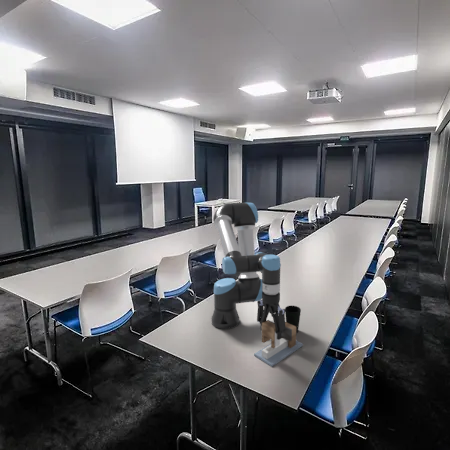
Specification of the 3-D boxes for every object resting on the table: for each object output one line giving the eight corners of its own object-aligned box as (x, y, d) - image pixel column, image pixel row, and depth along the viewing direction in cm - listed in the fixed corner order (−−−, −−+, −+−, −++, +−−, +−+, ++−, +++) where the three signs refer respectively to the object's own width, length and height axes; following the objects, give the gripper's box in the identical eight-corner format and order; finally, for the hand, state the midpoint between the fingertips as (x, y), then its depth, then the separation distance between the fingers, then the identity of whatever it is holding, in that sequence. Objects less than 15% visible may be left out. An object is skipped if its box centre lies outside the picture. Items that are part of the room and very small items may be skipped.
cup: (282, 332, 148) (282, 310, 145) (288, 325, 154) (288, 304, 152) (297, 336, 143) (297, 313, 141) (302, 329, 150) (302, 307, 147)
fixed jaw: (295, 344, 135) (296, 326, 133) (290, 348, 132) (290, 330, 131) (284, 338, 140) (284, 321, 138) (279, 342, 137) (279, 324, 136)
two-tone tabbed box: (261, 341, 129) (261, 322, 127) (267, 338, 131) (268, 319, 130) (273, 348, 124) (273, 328, 122) (279, 344, 126) (279, 325, 125)
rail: (254, 355, 129) (254, 347, 129) (285, 336, 143) (285, 329, 143) (271, 366, 122) (271, 358, 121) (302, 345, 136) (302, 337, 135)
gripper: (248, 287, 128) (248, 335, 132) (284, 301, 113) (283, 355, 117) (259, 283, 133) (259, 329, 137) (295, 296, 118) (294, 347, 122)
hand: (270, 341), depth 127 cm, fingers closed on two-tone tabbed box, 7 cm apart
